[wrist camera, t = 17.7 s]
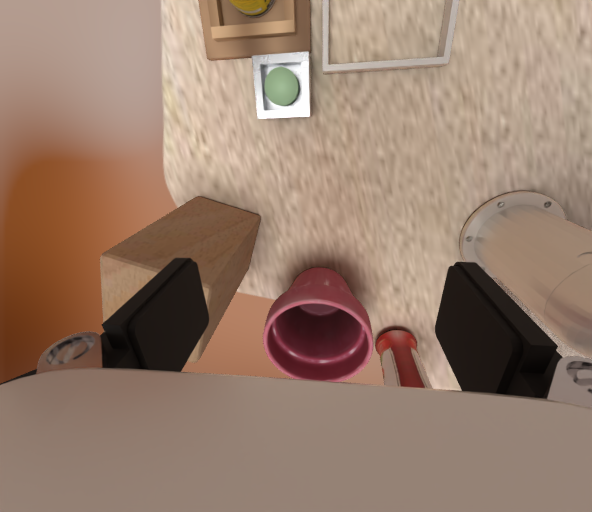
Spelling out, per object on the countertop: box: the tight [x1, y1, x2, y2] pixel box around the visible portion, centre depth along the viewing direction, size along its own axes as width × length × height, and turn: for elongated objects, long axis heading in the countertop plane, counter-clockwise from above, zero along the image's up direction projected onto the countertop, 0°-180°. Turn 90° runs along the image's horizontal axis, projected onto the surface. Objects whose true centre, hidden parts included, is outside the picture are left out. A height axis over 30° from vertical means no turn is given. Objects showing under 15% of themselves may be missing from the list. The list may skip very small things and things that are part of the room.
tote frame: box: [323, 0, 459, 74], centre depth 29 cm, size 13×11×2 cm
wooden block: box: [100, 196, 260, 362], centre depth 35 cm, size 10×10×20 cm
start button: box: [265, 67, 300, 106], centre depth 31 cm, size 4×4×2 cm
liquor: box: [375, 330, 433, 389], centre depth 37 cm, size 7×7×28 cm
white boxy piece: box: [252, 52, 312, 119], centre depth 32 cm, size 6×6×4 cm
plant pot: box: [263, 267, 373, 382], centre depth 41 cm, size 14×14×13 cm
